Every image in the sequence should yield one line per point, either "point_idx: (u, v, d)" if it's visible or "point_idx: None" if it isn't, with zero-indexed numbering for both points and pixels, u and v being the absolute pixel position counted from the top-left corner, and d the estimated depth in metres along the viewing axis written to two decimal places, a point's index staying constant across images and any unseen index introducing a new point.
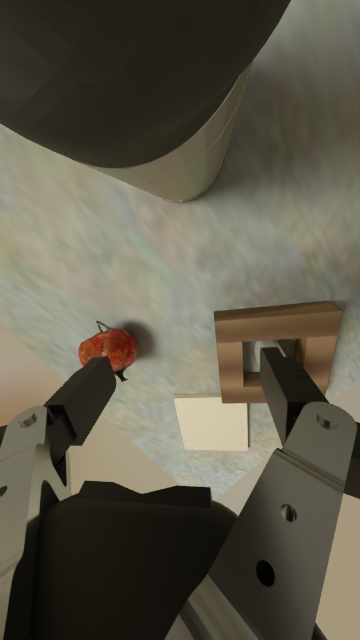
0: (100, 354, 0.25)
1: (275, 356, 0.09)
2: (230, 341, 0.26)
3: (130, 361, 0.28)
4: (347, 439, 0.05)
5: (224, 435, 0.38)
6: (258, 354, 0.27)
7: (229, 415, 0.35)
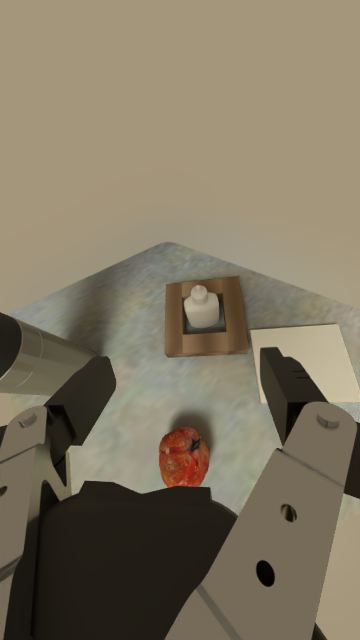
0: (166, 455, 0.27)
1: (275, 356, 0.09)
2: (181, 342, 0.35)
3: (190, 431, 0.29)
4: (347, 439, 0.05)
5: (315, 349, 0.33)
6: (196, 323, 0.37)
7: (279, 344, 0.34)
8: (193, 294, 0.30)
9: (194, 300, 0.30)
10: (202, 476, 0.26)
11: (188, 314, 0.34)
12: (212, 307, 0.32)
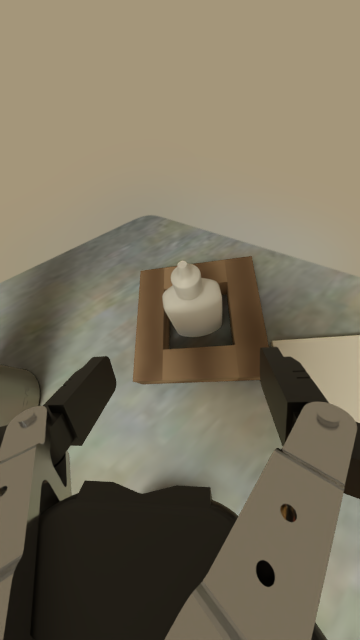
0: None
1: (275, 356, 0.09)
2: (161, 363, 0.22)
3: None
4: (347, 439, 0.05)
5: None
6: (186, 331, 0.23)
7: (323, 365, 0.21)
8: (175, 279, 0.16)
9: (177, 291, 0.17)
10: None
11: (170, 316, 0.20)
12: (211, 304, 0.18)
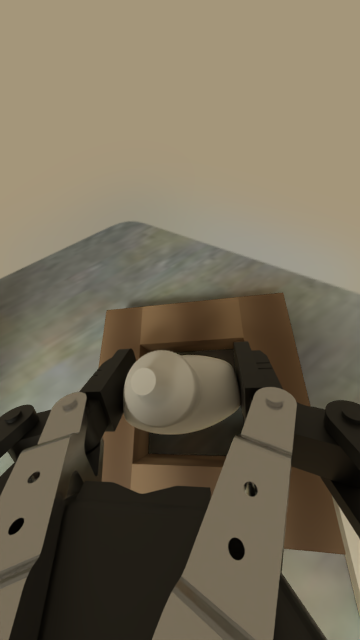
0: None
1: (244, 349, 0.09)
2: None
3: None
4: (285, 416, 0.06)
5: None
6: None
7: None
8: (132, 399, 0.06)
9: None
10: None
11: None
12: (220, 419, 0.09)
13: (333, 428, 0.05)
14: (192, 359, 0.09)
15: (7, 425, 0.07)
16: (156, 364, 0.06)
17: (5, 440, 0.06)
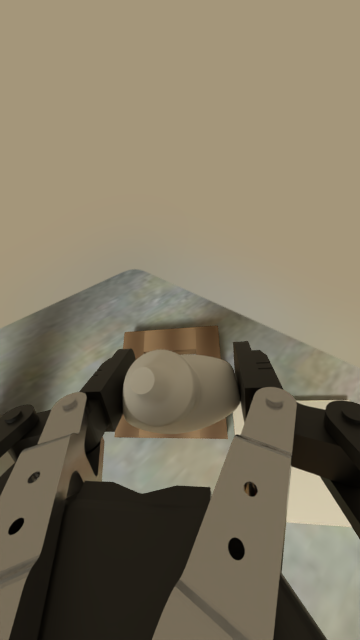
0: None
1: (244, 349, 0.09)
2: None
3: None
4: (285, 416, 0.06)
5: None
6: None
7: None
8: (131, 398, 0.06)
9: None
10: None
11: None
12: (220, 419, 0.09)
13: (333, 428, 0.05)
14: (191, 359, 0.09)
15: (7, 425, 0.07)
16: (155, 363, 0.06)
17: (5, 441, 0.06)
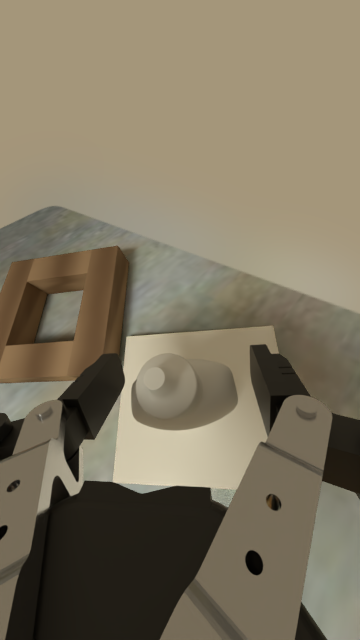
0: None
1: (263, 353, 0.09)
2: None
3: None
4: (322, 428, 0.05)
5: None
6: None
7: None
8: (143, 395, 0.07)
9: None
10: None
11: None
12: (219, 417, 0.10)
13: None
14: (194, 362, 0.10)
15: None
16: (164, 365, 0.08)
17: None
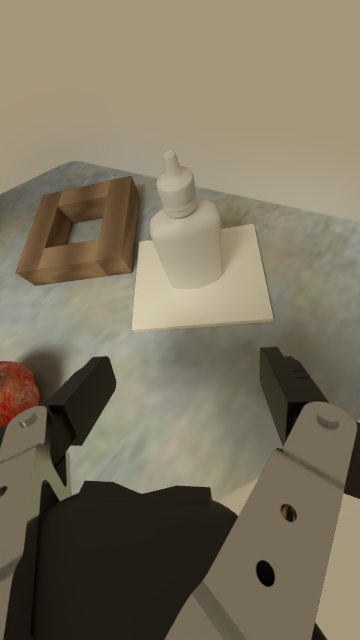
0: None
1: (275, 356, 0.09)
2: (40, 257, 0.25)
3: (2, 363, 0.19)
4: (347, 439, 0.05)
5: None
6: (179, 277, 0.20)
7: None
8: (161, 182, 0.13)
9: (165, 201, 0.13)
10: None
11: (159, 249, 0.17)
12: (208, 227, 0.15)
13: None
14: None
15: None
16: None
17: None
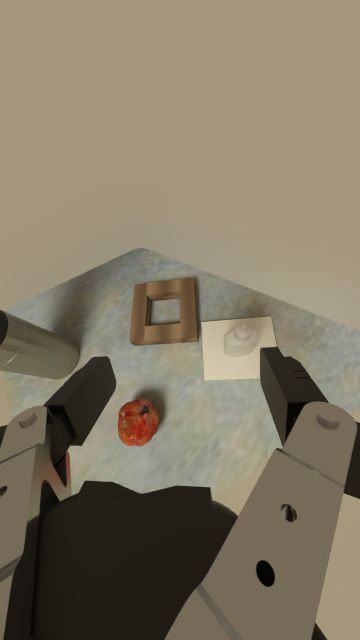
0: (122, 417, 0.34)
1: (275, 356, 0.09)
2: (143, 332, 0.43)
3: (143, 401, 0.36)
4: (347, 439, 0.05)
5: None
6: (233, 354, 0.37)
7: (223, 333, 0.42)
8: (238, 332, 0.30)
9: (238, 337, 0.31)
10: (149, 433, 0.33)
11: (228, 347, 0.34)
12: (254, 342, 0.33)
13: None
14: None
15: None
16: (243, 325, 0.30)
17: None
